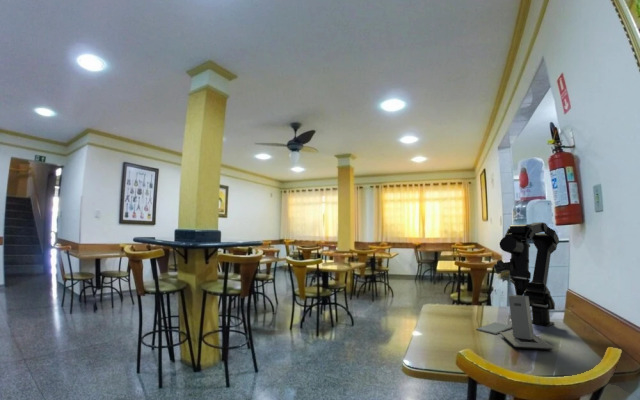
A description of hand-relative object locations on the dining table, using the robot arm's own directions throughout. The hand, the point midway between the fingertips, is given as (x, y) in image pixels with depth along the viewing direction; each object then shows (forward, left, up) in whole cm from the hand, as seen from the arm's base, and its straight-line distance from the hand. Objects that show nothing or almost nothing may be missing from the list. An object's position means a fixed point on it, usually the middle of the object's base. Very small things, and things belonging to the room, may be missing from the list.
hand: (518, 299), depth 113 cm
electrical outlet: (+12, +7, -12) cm, 18 cm away
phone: (+4, -7, -12) cm, 15 cm away
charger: (+12, +6, -10) cm, 17 cm away
